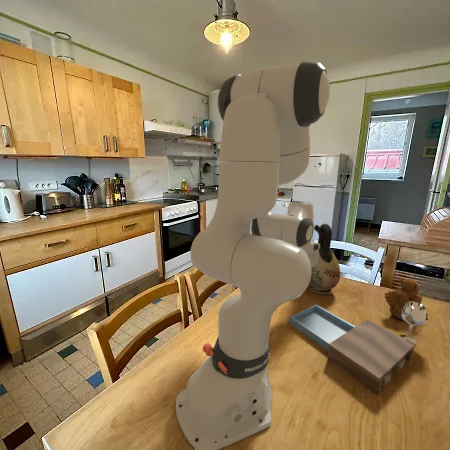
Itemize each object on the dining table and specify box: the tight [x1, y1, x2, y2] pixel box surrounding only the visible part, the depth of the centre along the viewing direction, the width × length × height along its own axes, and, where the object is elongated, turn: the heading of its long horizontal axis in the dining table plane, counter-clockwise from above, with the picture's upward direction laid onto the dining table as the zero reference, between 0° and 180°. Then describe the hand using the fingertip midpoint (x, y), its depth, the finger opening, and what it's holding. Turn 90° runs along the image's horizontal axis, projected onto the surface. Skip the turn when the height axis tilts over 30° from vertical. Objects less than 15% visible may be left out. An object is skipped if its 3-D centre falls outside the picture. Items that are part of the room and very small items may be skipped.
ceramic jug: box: [307, 223, 341, 296], centre depth 100 cm, size 17×15×30 cm
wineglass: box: [399, 301, 427, 345], centre depth 73 cm, size 6×6×12 cm
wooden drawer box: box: [327, 318, 417, 396], centre depth 66 cm, size 20×13×5 cm, turn 123°
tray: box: [288, 304, 357, 352], centre depth 78 cm, size 14×18×2 cm
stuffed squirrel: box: [383, 278, 429, 321], centre depth 86 cm, size 10×14×13 cm
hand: (294, 282), depth 87 cm, fingers closed
